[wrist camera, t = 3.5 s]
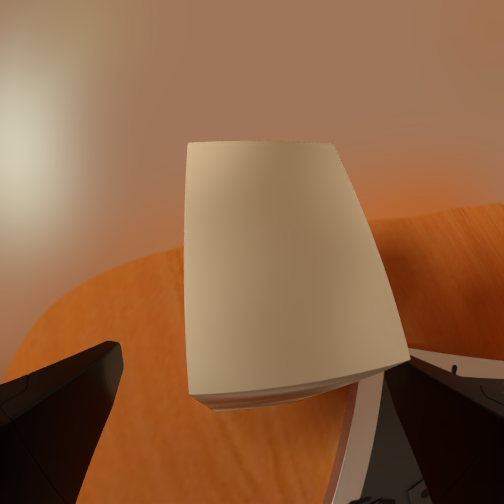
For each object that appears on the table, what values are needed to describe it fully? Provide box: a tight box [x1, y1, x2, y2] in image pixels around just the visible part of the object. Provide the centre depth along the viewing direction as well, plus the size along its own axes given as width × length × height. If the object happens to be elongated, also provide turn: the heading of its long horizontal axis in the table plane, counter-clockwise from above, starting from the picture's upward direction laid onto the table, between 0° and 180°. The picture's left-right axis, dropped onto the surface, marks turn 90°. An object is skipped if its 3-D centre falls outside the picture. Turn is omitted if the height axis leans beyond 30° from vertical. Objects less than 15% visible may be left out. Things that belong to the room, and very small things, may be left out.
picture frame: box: [323, 348, 504, 504], centre depth 11 cm, size 16×3×21 cm
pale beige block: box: [184, 141, 411, 412], centre depth 12 cm, size 4×6×13 cm, turn 7°
